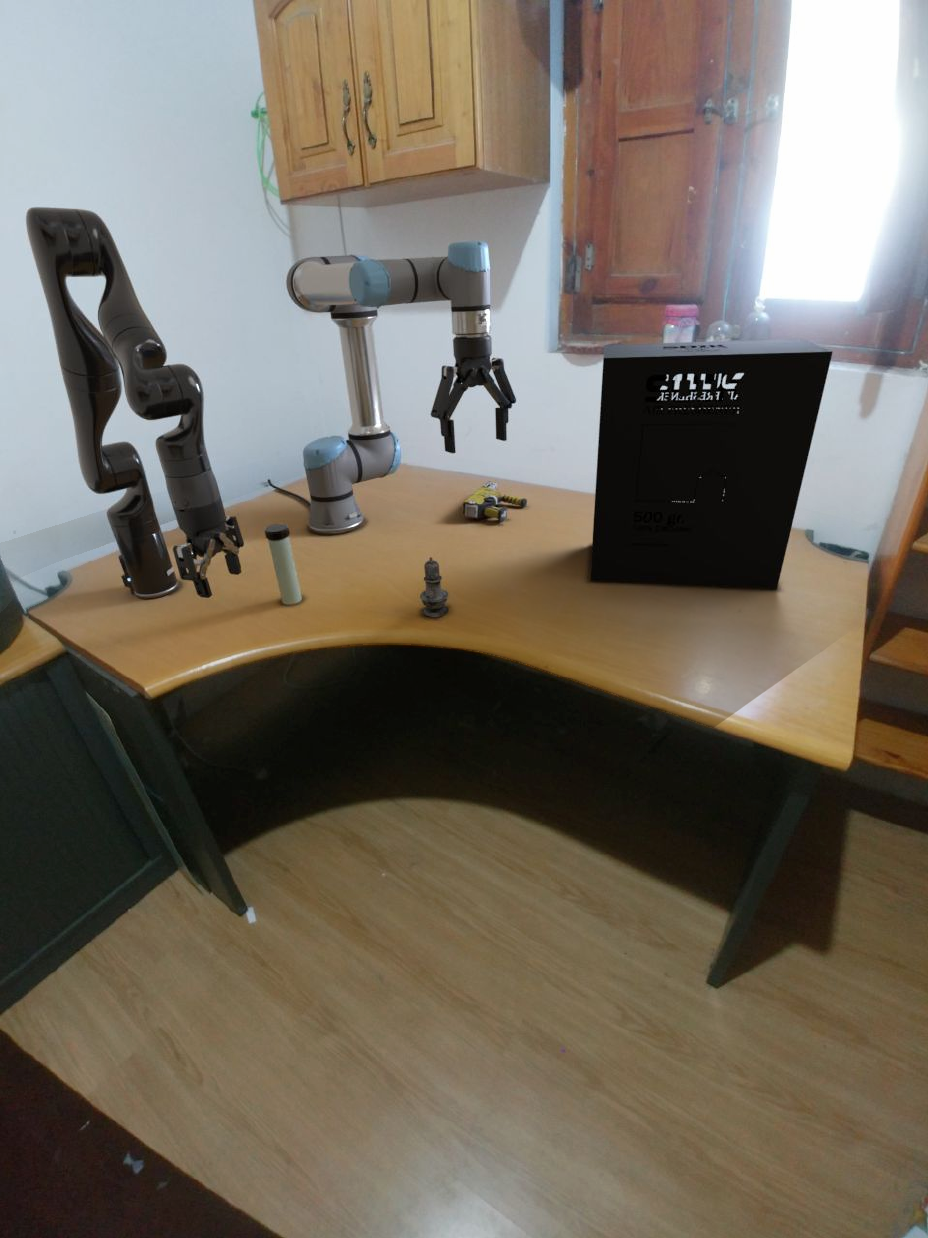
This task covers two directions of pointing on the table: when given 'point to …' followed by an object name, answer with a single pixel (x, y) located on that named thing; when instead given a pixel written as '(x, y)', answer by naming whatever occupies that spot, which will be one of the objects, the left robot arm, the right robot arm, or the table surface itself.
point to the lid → (277, 532)
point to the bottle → (285, 571)
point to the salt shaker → (433, 591)
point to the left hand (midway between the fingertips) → (221, 584)
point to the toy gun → (489, 503)
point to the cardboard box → (703, 460)
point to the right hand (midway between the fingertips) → (476, 445)
